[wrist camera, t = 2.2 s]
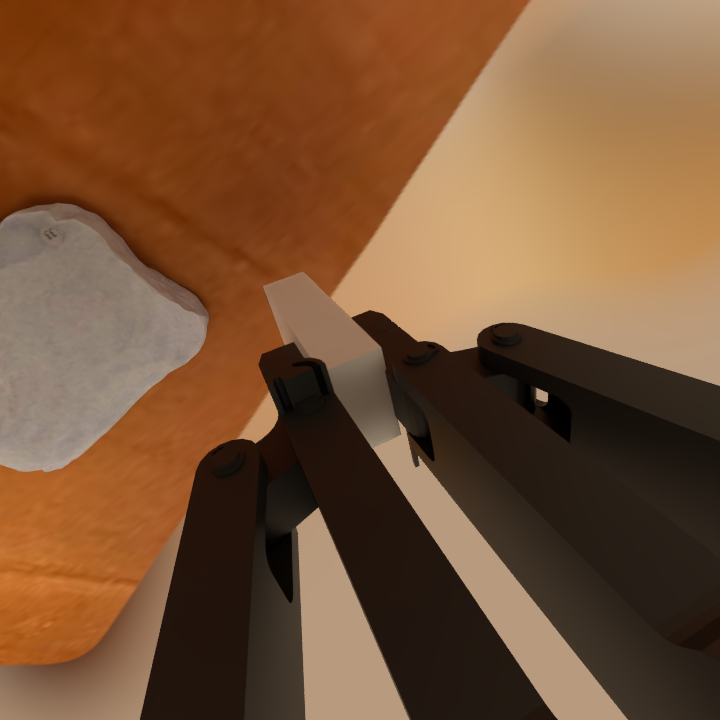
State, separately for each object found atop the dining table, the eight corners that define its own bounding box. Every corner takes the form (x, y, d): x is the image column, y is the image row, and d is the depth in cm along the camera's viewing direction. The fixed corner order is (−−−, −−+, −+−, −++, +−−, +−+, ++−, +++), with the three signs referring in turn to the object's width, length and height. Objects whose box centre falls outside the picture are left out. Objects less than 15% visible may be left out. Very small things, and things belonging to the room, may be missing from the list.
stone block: (-119, 332, 21) (66, 456, 25) (-211, 361, 16) (33, 506, 20) (70, 167, 21) (222, 317, 25) (30, 152, 17) (222, 336, 21)
